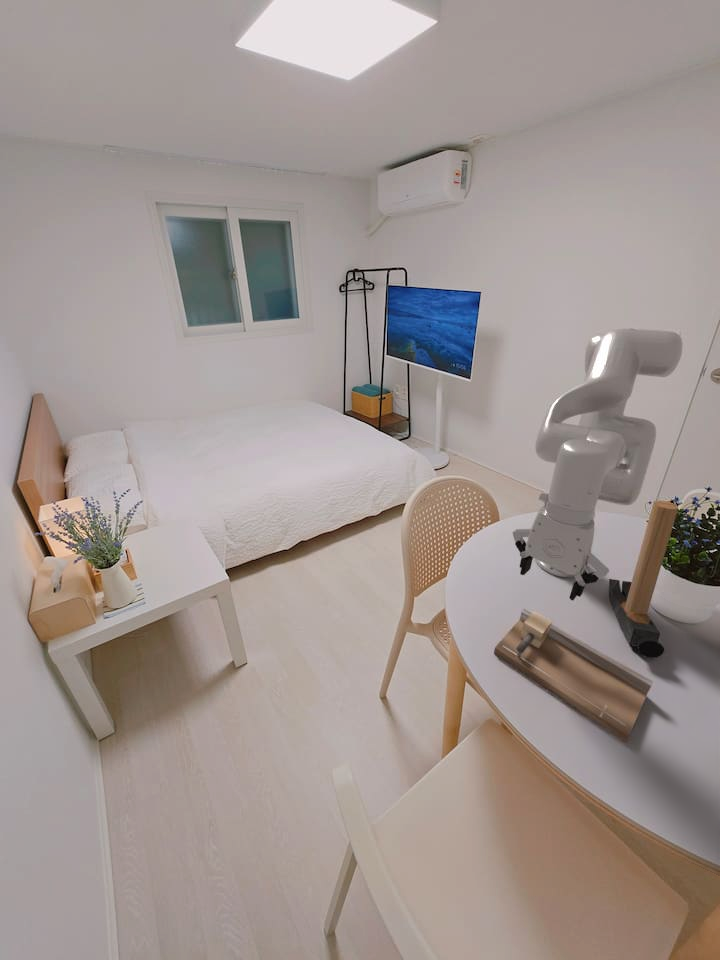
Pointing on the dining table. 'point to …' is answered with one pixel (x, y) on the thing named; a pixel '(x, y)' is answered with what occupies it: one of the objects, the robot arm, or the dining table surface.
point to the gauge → (534, 632)
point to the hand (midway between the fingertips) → (548, 583)
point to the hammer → (644, 583)
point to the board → (580, 676)
